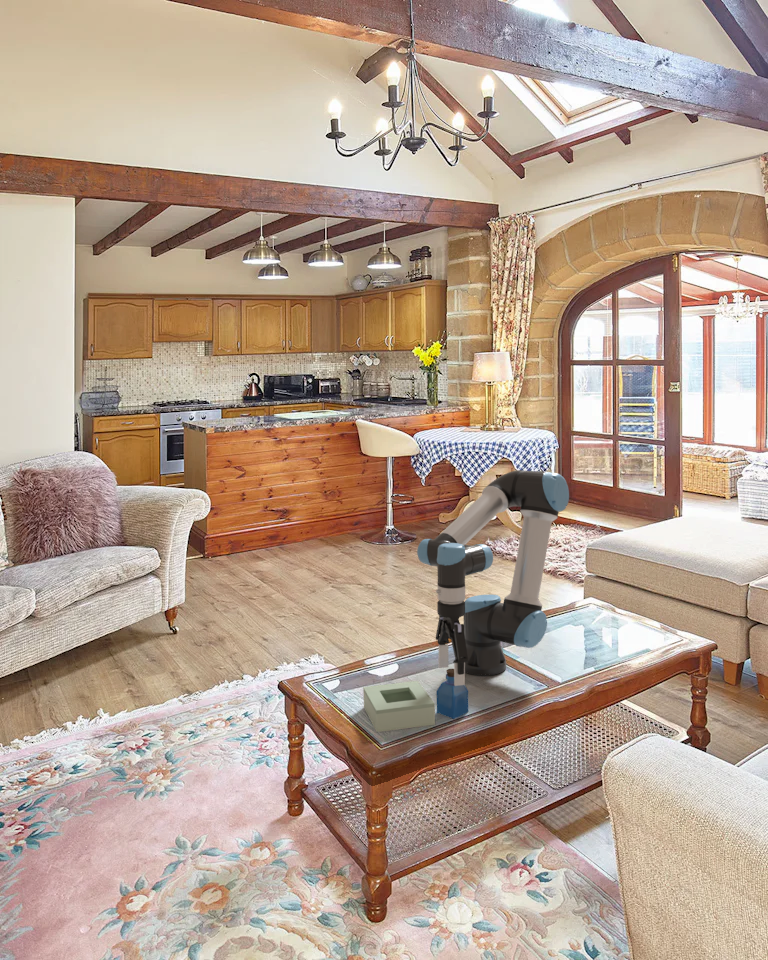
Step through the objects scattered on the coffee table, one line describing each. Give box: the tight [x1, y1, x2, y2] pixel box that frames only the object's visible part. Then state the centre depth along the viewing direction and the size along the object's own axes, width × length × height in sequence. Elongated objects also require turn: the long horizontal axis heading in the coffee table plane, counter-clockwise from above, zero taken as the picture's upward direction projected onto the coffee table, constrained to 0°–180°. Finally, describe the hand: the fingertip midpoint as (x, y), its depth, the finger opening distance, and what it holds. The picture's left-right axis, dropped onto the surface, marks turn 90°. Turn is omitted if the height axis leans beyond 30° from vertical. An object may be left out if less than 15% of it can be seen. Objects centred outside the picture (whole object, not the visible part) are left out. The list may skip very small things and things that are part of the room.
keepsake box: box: [362, 680, 436, 733], centre depth 207 cm, size 16×16×6 cm
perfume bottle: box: [436, 668, 469, 720], centre depth 208 cm, size 6×6×12 cm
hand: (451, 675), depth 207 cm, fingers open, 13 cm apart
